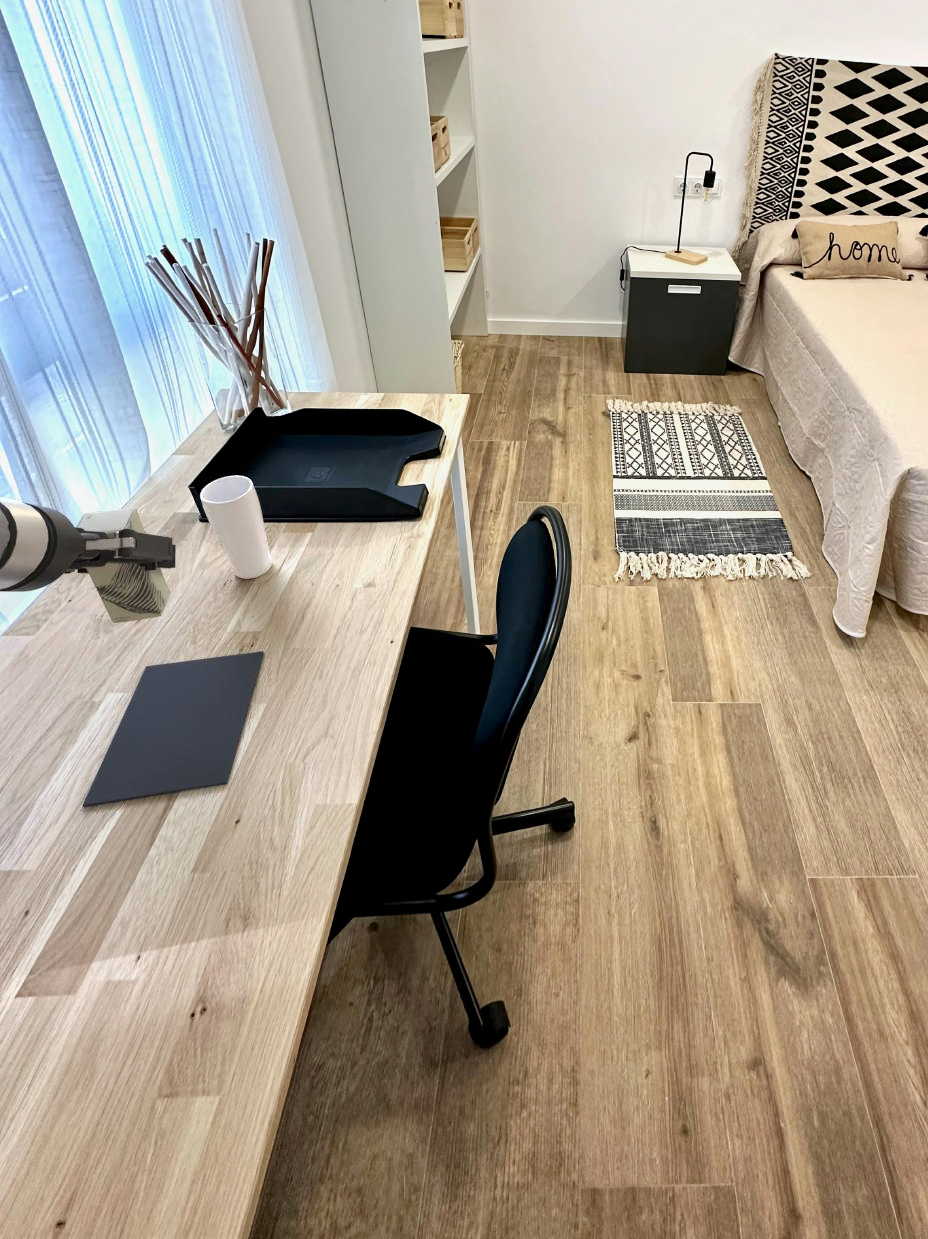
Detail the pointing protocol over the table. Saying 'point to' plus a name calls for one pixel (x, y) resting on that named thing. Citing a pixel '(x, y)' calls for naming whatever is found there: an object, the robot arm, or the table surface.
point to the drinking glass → (238, 524)
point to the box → (125, 572)
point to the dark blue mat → (178, 729)
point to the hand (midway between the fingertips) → (143, 559)
